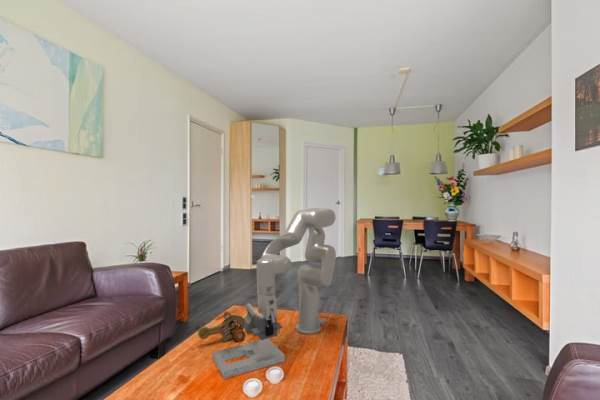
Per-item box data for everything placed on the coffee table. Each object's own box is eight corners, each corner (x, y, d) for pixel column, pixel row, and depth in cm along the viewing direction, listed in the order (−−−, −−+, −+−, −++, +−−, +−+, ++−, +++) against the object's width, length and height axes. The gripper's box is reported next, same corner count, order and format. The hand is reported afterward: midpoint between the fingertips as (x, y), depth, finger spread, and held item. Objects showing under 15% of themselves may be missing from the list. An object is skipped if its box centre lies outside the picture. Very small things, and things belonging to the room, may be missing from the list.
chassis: (268, 344, 129) (268, 338, 129) (284, 361, 116) (284, 354, 116) (212, 357, 117) (213, 351, 117) (224, 378, 104) (224, 371, 104)
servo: (277, 329, 126) (277, 307, 126) (282, 334, 122) (282, 311, 122) (251, 337, 120) (250, 314, 120) (255, 342, 116) (254, 318, 116)
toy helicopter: (247, 339, 133) (247, 309, 134) (200, 351, 122) (201, 318, 122) (240, 332, 140) (241, 304, 140) (195, 343, 129) (196, 312, 129)
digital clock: (263, 335, 138) (263, 312, 138) (243, 337, 136) (244, 314, 136) (261, 321, 154) (261, 301, 154) (243, 323, 152) (243, 302, 152)
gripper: (283, 293, 115) (284, 339, 116) (266, 282, 130) (267, 323, 130) (266, 296, 111) (266, 344, 112) (250, 285, 126) (251, 327, 126)
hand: (267, 332), depth 121 cm, fingers closed on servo, 4 cm apart
